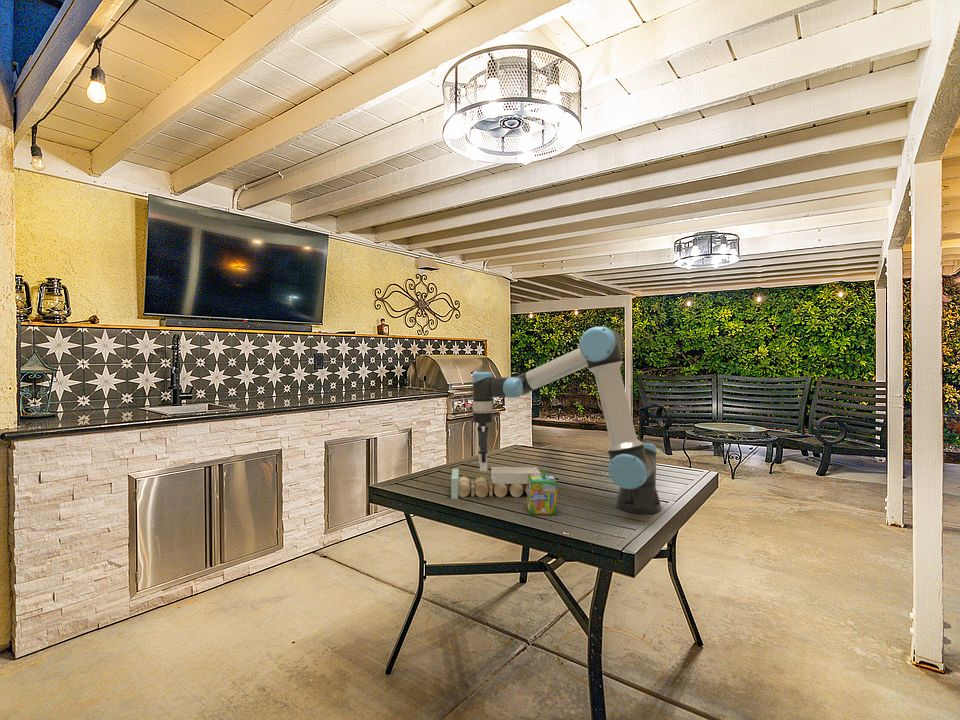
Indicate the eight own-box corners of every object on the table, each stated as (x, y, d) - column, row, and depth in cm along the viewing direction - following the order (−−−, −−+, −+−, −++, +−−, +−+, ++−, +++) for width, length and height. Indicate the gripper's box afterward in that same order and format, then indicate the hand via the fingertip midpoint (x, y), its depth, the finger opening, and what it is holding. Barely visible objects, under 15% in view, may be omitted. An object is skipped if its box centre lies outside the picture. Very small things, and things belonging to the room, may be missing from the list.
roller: (488, 497, 184) (487, 483, 184) (475, 498, 183) (474, 484, 183) (487, 489, 195) (486, 476, 195) (474, 490, 194) (474, 477, 194)
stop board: (457, 498, 181) (458, 478, 181) (451, 498, 181) (451, 478, 181) (458, 487, 197) (458, 468, 197) (452, 487, 197) (452, 468, 197)
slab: (540, 483, 185) (540, 473, 185) (492, 483, 184) (492, 472, 184) (536, 477, 195) (536, 467, 195) (491, 476, 194) (491, 466, 194)
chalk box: (526, 506, 173) (527, 464, 173) (552, 506, 174) (552, 464, 173) (529, 515, 164) (530, 470, 164) (557, 515, 164) (557, 471, 164)
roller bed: (539, 497, 184) (539, 484, 184) (456, 496, 183) (456, 483, 183) (534, 489, 195) (535, 476, 195) (457, 488, 194) (457, 476, 194)
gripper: (494, 415, 177) (494, 474, 177) (490, 408, 201) (490, 460, 201) (473, 415, 176) (473, 474, 176) (472, 408, 201) (472, 460, 201)
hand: (482, 467), depth 189 cm, fingers open, 13 cm apart
